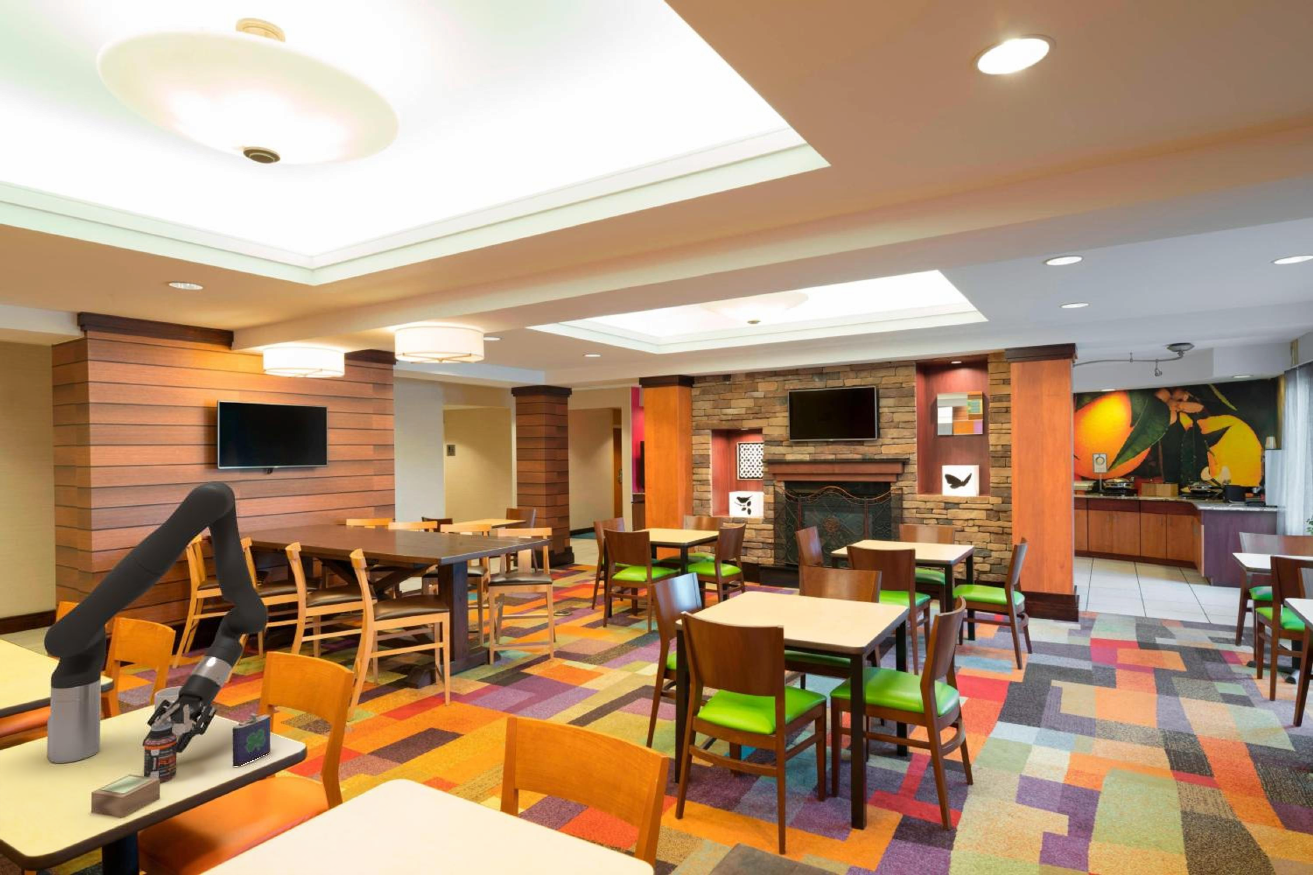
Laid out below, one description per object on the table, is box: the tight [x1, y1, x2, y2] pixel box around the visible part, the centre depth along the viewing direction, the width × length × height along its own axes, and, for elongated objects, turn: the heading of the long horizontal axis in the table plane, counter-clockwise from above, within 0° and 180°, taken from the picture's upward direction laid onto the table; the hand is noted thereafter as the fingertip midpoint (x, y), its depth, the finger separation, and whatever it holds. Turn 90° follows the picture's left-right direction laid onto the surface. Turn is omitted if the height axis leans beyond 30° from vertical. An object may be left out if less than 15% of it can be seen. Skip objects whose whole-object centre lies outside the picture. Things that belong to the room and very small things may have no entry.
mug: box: [154, 685, 185, 737], centre depth 179 cm, size 12×8×10 cm, turn 34°
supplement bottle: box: [143, 724, 178, 783], centre depth 157 cm, size 6×6×11 cm
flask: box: [231, 712, 271, 767], centre depth 166 cm, size 9×3×11 cm, turn 157°
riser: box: [90, 773, 161, 819], centre depth 145 cm, size 8×8×4 cm
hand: (161, 749), depth 157 cm, fingers open, 8 cm apart
